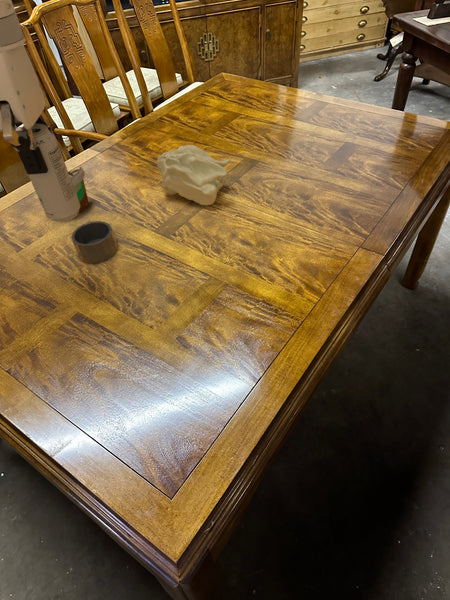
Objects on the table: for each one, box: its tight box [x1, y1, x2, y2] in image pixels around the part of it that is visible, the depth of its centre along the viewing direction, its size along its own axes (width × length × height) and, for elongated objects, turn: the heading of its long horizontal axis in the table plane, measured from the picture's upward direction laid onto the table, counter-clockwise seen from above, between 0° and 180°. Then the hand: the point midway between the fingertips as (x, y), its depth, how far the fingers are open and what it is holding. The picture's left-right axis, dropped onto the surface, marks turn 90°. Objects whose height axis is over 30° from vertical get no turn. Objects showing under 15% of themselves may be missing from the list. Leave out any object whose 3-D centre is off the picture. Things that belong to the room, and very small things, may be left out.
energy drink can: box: [17, 124, 80, 223], centre depth 69 cm, size 6×6×15 cm
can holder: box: [70, 220, 119, 264], centre depth 92 cm, size 9×9×5 cm
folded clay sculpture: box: [156, 144, 232, 207], centre depth 103 cm, size 18×13×16 cm
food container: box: [68, 166, 90, 216], centre depth 102 cm, size 12×6×10 cm, turn 114°
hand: (43, 161), depth 67 cm, fingers closed on energy drink can, 6 cm apart
